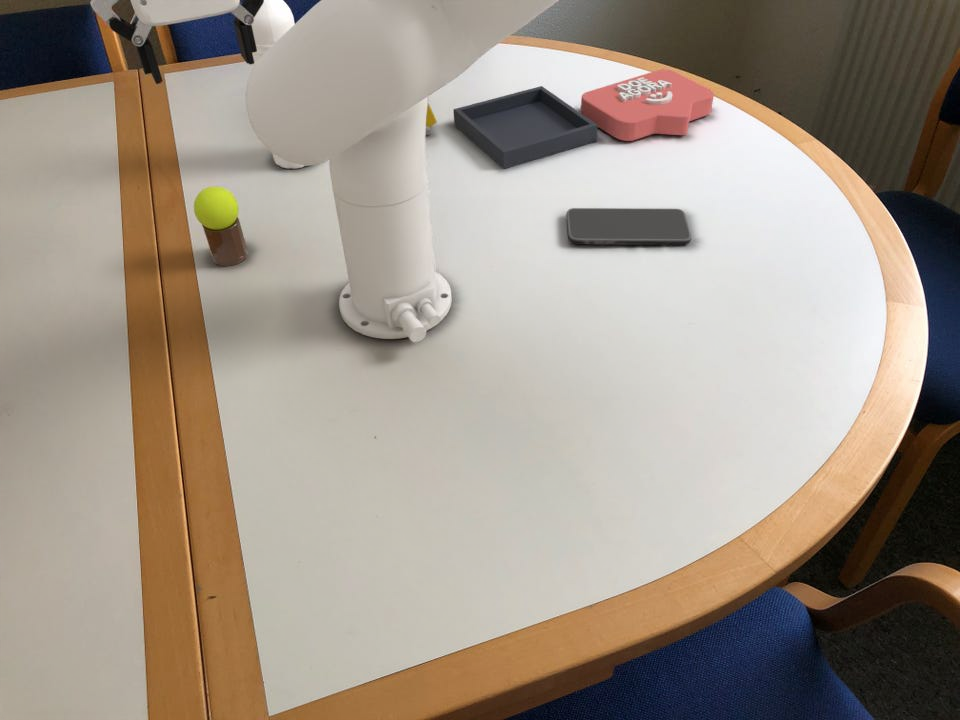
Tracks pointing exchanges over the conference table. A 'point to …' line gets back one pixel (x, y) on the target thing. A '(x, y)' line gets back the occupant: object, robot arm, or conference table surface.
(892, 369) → the conference table surface
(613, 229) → the smartphone
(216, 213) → the ball
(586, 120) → the tray
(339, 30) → the robot arm
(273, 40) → the water bottle
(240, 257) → the cup
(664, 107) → the plaque
